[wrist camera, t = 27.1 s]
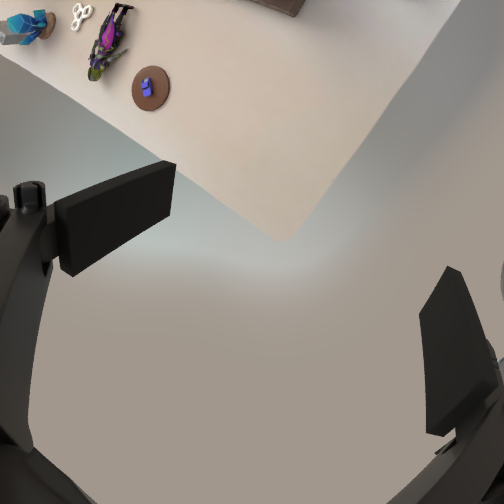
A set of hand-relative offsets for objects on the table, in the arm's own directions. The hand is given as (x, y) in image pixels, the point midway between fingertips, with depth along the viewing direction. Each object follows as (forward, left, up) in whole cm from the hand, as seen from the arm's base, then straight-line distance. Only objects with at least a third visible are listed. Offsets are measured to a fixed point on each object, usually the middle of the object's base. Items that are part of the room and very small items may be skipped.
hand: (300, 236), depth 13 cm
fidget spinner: (+60, -2, -32) cm, 68 cm away
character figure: (+46, +2, -32) cm, 56 cm away
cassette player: (+87, +6, -32) cm, 93 cm away
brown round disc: (+33, +7, -32) cm, 46 cm away
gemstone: (+73, +3, -32) cm, 80 cm away
